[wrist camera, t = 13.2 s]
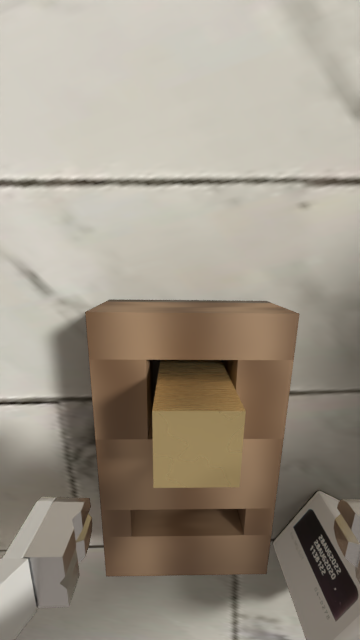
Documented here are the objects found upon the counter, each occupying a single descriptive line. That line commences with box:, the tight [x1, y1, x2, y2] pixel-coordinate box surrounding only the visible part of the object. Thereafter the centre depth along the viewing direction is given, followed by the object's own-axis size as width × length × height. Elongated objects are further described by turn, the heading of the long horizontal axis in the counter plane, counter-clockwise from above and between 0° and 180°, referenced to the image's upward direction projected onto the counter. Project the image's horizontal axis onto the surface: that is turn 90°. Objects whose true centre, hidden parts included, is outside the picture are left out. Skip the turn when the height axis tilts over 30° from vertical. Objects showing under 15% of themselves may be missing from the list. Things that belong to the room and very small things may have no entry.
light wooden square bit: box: [152, 360, 246, 488], centre depth 14 cm, size 4×4×8 cm
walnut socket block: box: [85, 300, 299, 576], centre depth 18 cm, size 12×20×5 cm, turn 179°
